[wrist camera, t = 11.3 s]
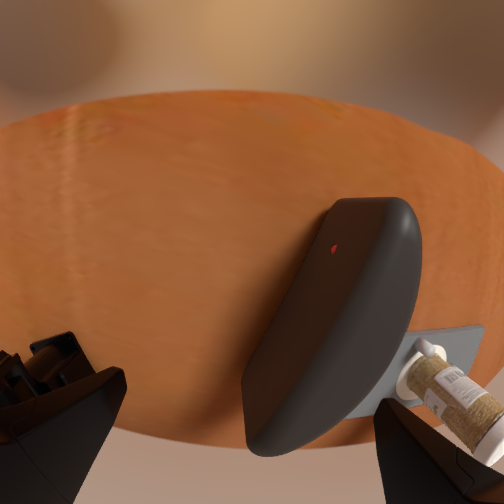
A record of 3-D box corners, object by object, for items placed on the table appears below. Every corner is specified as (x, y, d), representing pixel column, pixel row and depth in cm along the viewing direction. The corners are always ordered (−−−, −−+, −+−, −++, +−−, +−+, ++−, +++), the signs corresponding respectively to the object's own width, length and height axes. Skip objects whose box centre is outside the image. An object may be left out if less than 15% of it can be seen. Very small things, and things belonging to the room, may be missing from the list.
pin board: (330, 414, 23) (340, 433, 20) (354, 334, 22) (369, 350, 19) (455, 389, 25) (468, 401, 22) (480, 324, 23) (496, 333, 20)
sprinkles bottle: (397, 388, 22) (475, 476, 9) (419, 348, 22) (515, 425, 8) (425, 389, 23) (499, 463, 9) (446, 352, 22) (532, 417, 9)
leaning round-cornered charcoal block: (284, 392, 22) (308, 473, 13) (235, 376, 22) (241, 463, 12) (378, 222, 20) (462, 236, 11) (330, 194, 20) (404, 188, 11)
